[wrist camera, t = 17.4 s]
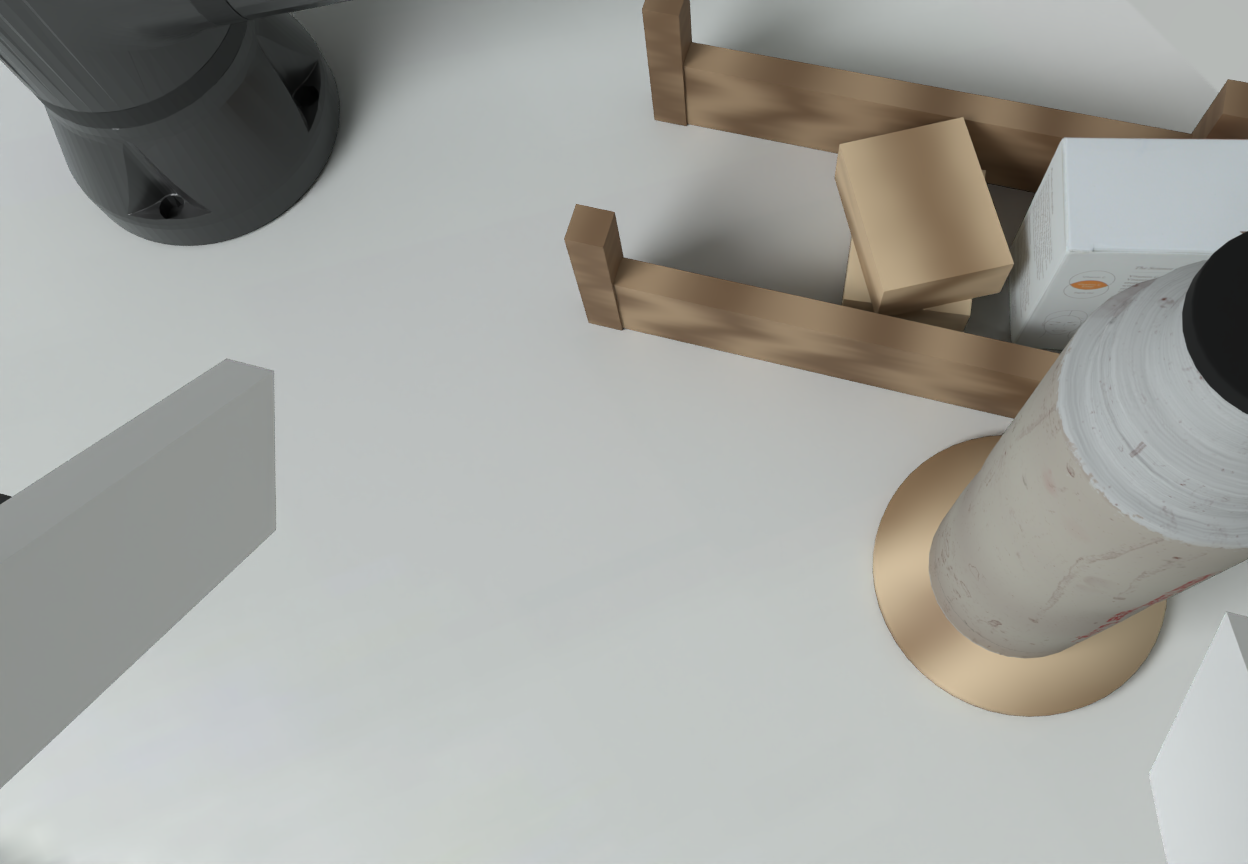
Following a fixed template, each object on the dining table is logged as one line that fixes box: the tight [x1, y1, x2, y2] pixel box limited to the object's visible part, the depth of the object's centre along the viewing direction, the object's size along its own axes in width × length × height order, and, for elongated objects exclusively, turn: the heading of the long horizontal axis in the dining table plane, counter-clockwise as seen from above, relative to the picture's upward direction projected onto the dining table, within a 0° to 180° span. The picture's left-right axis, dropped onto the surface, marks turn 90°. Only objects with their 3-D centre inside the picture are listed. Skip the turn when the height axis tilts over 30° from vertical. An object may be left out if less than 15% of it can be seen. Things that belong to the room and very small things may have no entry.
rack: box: [564, 0, 1248, 418], centre depth 54 cm, size 28×14×9 cm, turn 74°
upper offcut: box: [835, 117, 1014, 316], centre depth 54 cm, size 6×8×3 cm
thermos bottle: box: [929, 231, 1248, 659], centre depth 38 cm, size 8×8×28 cm
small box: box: [1009, 137, 1248, 350], centre depth 51 cm, size 8×6×10 cm
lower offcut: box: [841, 170, 986, 332], centre depth 57 cm, size 6×8×3 cm
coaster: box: [873, 435, 1167, 717], centre depth 52 cm, size 13×13×1 cm
